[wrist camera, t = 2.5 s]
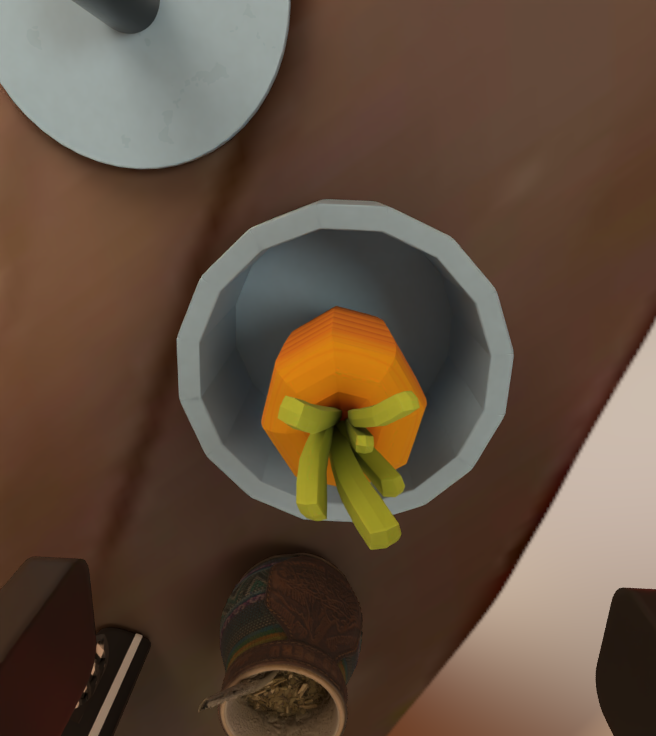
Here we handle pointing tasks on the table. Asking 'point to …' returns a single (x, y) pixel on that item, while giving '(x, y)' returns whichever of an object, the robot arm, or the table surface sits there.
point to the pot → (355, 292)
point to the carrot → (345, 417)
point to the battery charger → (108, 683)
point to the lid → (141, 72)
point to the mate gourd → (288, 649)
